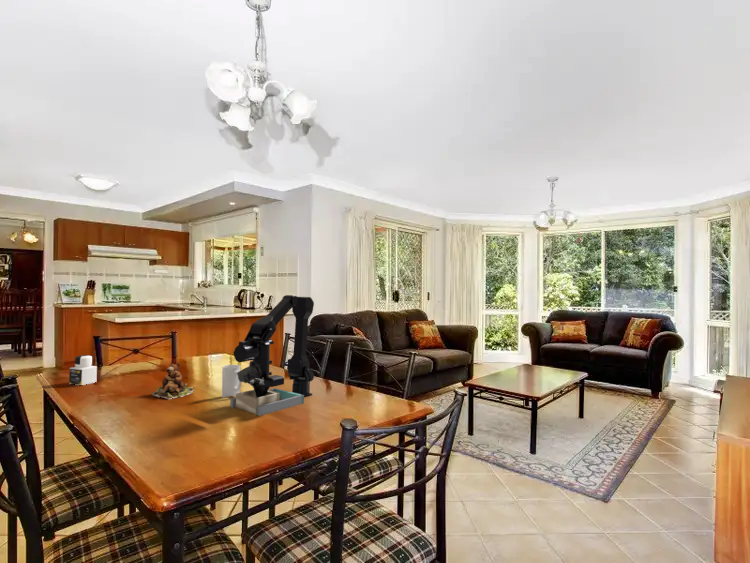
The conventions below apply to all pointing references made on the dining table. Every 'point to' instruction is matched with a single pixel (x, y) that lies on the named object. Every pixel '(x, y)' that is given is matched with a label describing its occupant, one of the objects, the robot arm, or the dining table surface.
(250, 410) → the crate
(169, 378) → the bear figurine
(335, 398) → the dining table surface
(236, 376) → the mug
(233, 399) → the bay
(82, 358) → the medicine bottle
